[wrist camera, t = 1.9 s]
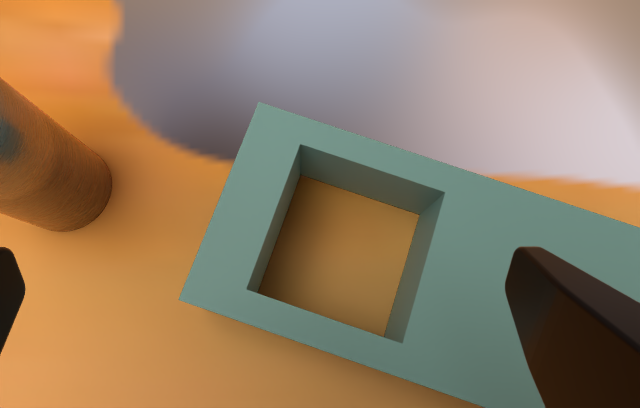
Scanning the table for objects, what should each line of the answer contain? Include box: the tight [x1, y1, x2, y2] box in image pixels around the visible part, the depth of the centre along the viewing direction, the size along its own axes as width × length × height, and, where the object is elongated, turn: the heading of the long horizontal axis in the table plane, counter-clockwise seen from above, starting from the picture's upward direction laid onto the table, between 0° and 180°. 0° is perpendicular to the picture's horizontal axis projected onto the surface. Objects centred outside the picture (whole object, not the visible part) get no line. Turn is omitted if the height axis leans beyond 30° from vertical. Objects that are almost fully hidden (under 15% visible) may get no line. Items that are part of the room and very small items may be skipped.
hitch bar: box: [179, 102, 640, 408], centre depth 19 cm, size 20×8×4 cm, turn 71°
